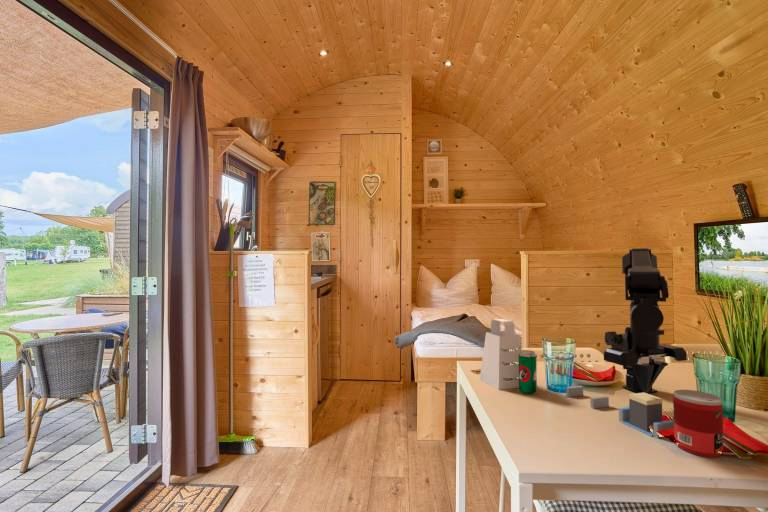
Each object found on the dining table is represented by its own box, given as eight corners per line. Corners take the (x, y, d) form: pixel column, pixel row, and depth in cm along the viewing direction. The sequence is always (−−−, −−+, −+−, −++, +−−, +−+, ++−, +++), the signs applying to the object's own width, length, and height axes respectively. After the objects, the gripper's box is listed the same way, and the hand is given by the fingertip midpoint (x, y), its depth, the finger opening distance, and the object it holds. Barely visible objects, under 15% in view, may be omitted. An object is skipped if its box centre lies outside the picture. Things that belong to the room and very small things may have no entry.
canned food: (727, 462, 76) (726, 404, 76) (675, 451, 80) (675, 397, 80) (719, 446, 83) (718, 393, 83) (672, 437, 87) (671, 387, 87)
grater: (506, 376, 132) (506, 317, 133) (527, 386, 123) (526, 321, 123) (479, 379, 129) (479, 318, 129) (498, 389, 119) (498, 323, 119)
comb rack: (582, 394, 115) (581, 383, 115) (676, 435, 88) (676, 421, 88) (564, 396, 113) (564, 385, 113) (655, 438, 86) (655, 424, 86)
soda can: (538, 395, 114) (537, 353, 114) (520, 394, 115) (519, 353, 115) (535, 389, 119) (534, 350, 119) (517, 388, 120) (517, 349, 120)
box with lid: (644, 421, 95) (644, 392, 95) (662, 429, 90) (662, 398, 90) (629, 423, 93) (628, 394, 94) (646, 431, 89) (646, 400, 89)
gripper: (644, 317, 102) (645, 378, 102) (585, 321, 97) (585, 384, 97) (687, 324, 92) (688, 391, 91) (624, 328, 87) (624, 399, 86)
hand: (645, 391), depth 92 cm, fingers closed
